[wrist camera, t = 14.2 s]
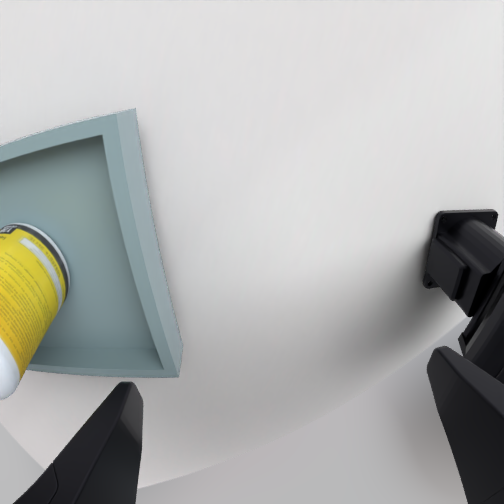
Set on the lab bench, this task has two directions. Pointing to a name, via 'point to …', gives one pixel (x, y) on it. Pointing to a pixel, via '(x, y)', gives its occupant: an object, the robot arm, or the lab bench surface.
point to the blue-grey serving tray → (95, 247)
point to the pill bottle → (27, 297)
